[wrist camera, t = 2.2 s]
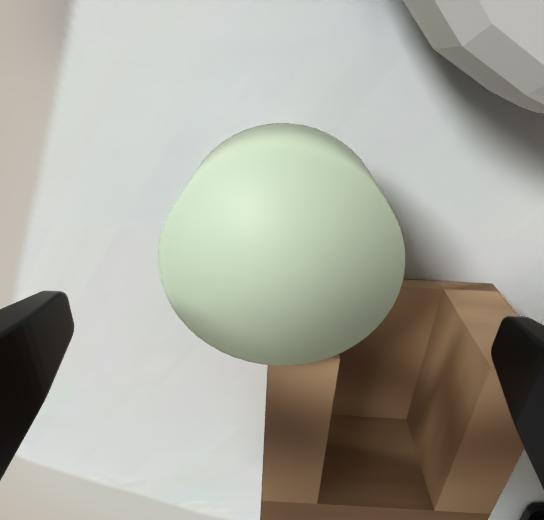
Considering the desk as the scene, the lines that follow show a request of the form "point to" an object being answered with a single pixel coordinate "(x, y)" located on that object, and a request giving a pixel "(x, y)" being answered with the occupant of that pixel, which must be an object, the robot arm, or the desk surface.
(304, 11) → the desk surface
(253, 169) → the peg
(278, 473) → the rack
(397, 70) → the desk surface
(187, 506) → the desk surface
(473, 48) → the robot toy
